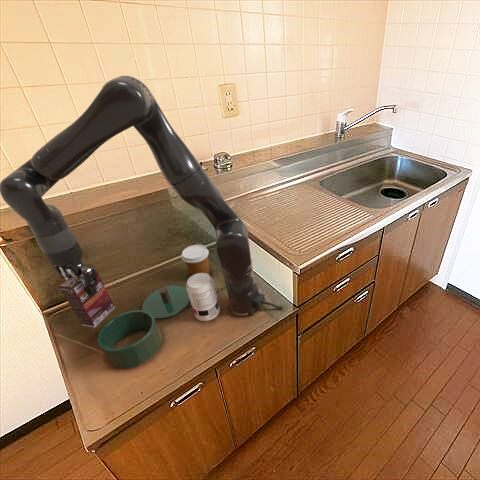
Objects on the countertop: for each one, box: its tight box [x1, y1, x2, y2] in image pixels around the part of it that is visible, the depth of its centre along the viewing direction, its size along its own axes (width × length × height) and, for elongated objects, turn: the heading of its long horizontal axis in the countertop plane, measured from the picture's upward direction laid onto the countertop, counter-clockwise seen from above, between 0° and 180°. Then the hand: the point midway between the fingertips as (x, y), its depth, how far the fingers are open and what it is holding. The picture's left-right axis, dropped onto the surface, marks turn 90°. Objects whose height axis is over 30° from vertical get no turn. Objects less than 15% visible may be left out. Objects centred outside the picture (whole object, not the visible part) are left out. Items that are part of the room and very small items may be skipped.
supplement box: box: [58, 269, 116, 328], centre depth 93 cm, size 9×5×16 cm, turn 168°
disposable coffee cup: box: [181, 244, 210, 277], centre depth 119 cm, size 10×10×12 cm
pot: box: [97, 309, 163, 370], centre depth 94 cm, size 15×15×8 cm
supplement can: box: [185, 273, 221, 322], centre depth 103 cm, size 8×8×15 cm
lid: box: [141, 285, 191, 320], centre depth 109 cm, size 16×16×6 cm
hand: (85, 291), depth 92 cm, fingers closed on supplement box, 5 cm apart
